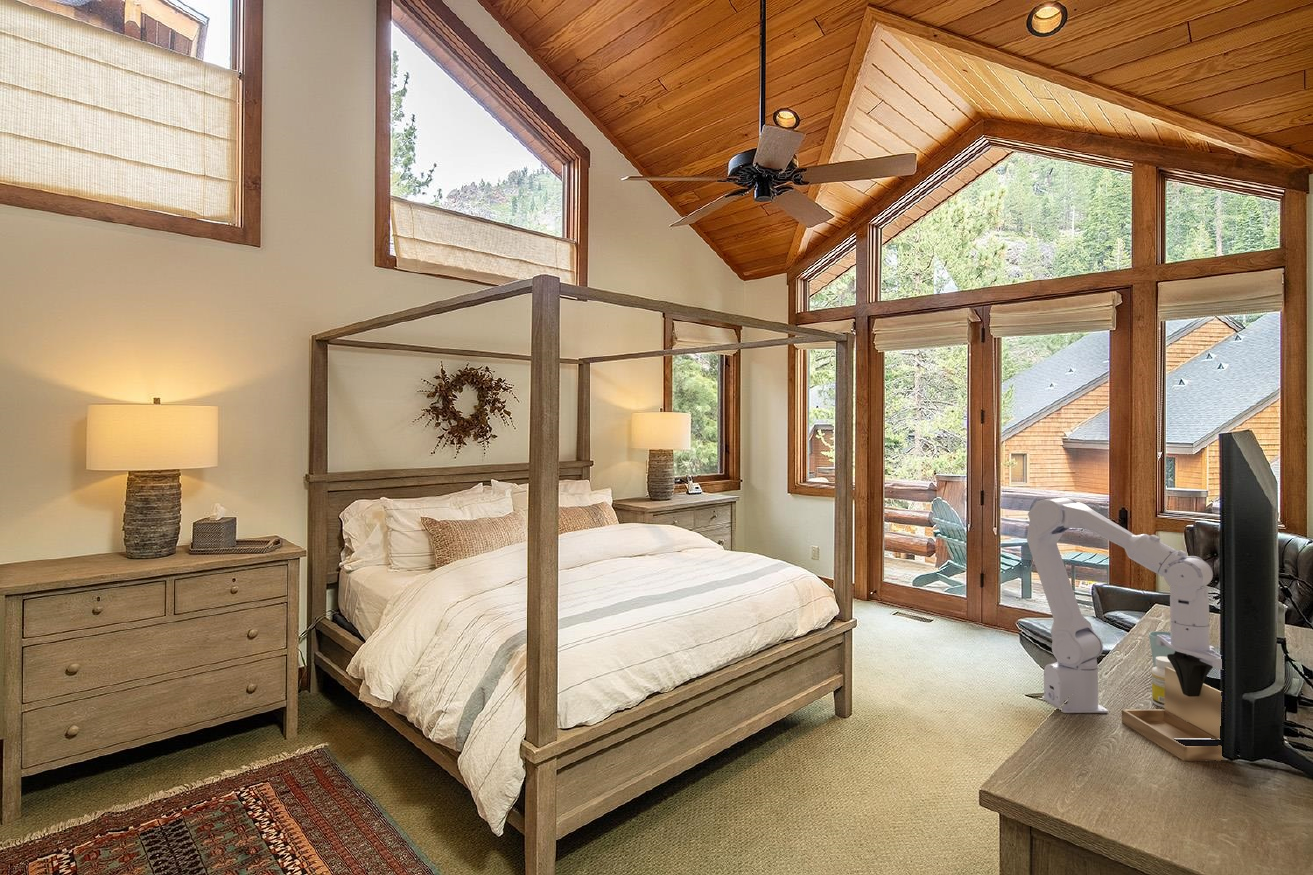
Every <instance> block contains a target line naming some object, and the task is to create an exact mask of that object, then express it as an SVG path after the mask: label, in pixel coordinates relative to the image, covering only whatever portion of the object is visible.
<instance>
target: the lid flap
mask: <svg viewBox="0 0 1313 875" xmlns="http://www.w3.org/2000/svg"><path fill="white" fill-rule="evenodd" d="M1221 692H1222V691H1221V690H1218V689H1217V688H1214V687H1211V686H1210V685H1208V684H1206V683H1203V685H1202V688H1201V692H1200V695H1199V696H1195V697H1189V696H1186V695H1184V694H1183V692H1182V689H1181V686H1180V682H1179V679H1178V677H1177V674H1176V672H1175V670H1173V669H1171V668H1169V667H1165V698H1164V708H1163V709H1165V710H1167V711H1168V712H1170V713H1172V714H1174V715H1176V716H1178V717H1179V718H1181V719H1183V720H1185V721H1187V722H1189V723H1190V724H1192V725H1194V726H1196V727H1198V728H1200V729H1201V730H1203V731H1205V732H1207V733H1209V734H1211V735H1212V736H1214V737H1216V738H1218V739H1220V726H1221V702H1222V696H1221ZM1220 740H1221V739H1220Z"/></svg>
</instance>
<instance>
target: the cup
mask: <svg viewBox="0 0 1313 875" xmlns="http://www.w3.org/2000/svg"><path fill="white" fill-rule="evenodd" d="M1156 635H1168V636H1171V631H1161V630H1160V631H1159V630H1156V631H1150V632H1149V633H1148V636H1149V643H1150V644H1149V645H1150V650H1151V658H1152V663H1153V668H1154V667H1157V665H1156V663H1155V658H1156V657H1158V656H1164V657H1167V655H1168V654H1174V653H1175V651H1174V650H1172V649H1170V648H1168V647H1165V646H1159V645H1157V642H1156Z"/></svg>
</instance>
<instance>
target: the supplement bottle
mask: <svg viewBox="0 0 1313 875" xmlns="http://www.w3.org/2000/svg"><path fill="white" fill-rule="evenodd" d="M1155 663H1156V665H1157V667H1154V666H1153V667H1152V668H1151V691H1152V692H1151V695H1152V696H1151V698H1152V703H1153V704H1154V705H1155V706H1158V707H1160V708H1163V709H1164V698H1165V667H1169V668H1171V669H1173V670H1175V669H1174V668H1173V666H1172V664H1171V662H1170V661H1169V660H1168V658H1167V657H1164V656H1158V657H1156V658H1155Z"/></svg>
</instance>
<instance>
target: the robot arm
mask: <svg viewBox="0 0 1313 875" xmlns="http://www.w3.org/2000/svg"><path fill="white" fill-rule="evenodd" d="M1027 516H1028V518H1029V523H1028V529H1027V535H1026V541H1027V545H1028V547H1029V548H1028V549H1029V551H1030V554H1031V556H1032V559H1033V564H1034V565H1035V569H1036V572H1037V574H1038V578H1039V580H1040V582H1041V586H1042V588H1043V592H1044V595H1045V598H1046V601H1047V604H1048V606H1049V607H1048V608H1049V610H1050V612H1051V616H1052V618H1053V622H1052V625H1051V628H1050V634H1051V640H1052V642H1051V652H1052V655H1053V656H1054V658H1055V659H1056V660H1057V661H1056V662H1053V663H1048V664H1046V665H1045V667H1044V669H1043V696H1041V699H1042V700H1044V701H1045V702H1047V703H1048V704H1049V705H1051V706H1053V707H1054V708H1056V709H1057V710H1058V708H1059V707H1060V706H1061V705H1062V704H1063V703H1064V702H1065V701H1066V700H1067V699H1068V701H1067V702H1066V703H1064V705H1063V706H1061V708H1062V710H1061V709H1060V710H1061V711H1060V710H1059V711H1060V712H1062V713H1064V714H1083V713H1084V714H1085V713H1086V714H1089V713H1090V714H1091V713H1092V714H1097V713H1099V714H1100V713H1103V714H1106V713H1107V714H1108V713H1109V710H1108V708H1105V707H1104V706H1103V705H1100V704H1099V671H1098V670H1099V668H1098V667H1099V666H1098V660H1097V658H1099V657H1100V655H1101V654H1102V653H1103V649H1104V645H1103V642H1102V639H1101V637H1100V636H1099V635H1098V634H1097V633H1096V632H1095V630H1094V629H1093V626H1092V623H1091V622H1090V621H1089V620H1088V619H1087V618H1086V617H1084V616H1083V615H1082V614H1083V613H1082V612H1081V609H1080V605H1079V604H1078V600H1077V598H1076V595H1075V592H1074V589H1073V587H1072V583H1071V580H1070V578H1069V575H1068V572H1067V569H1066V566H1065V564H1064V561H1063V557H1062V554H1061V553H1060V549H1059V546H1058V542H1059V540H1060V539H1061V538H1062V537H1063V535H1064V534H1065V532H1066V531H1067V530H1069V529H1070V528H1072V529H1074V528H1075V529H1086V530H1087V531H1090V532H1092V533H1094V534H1096V535H1098V536H1099V537H1101V538H1103V539H1106V540H1108V541H1109V542H1111V543H1113V544H1116V545H1118V546H1119V547H1120V548H1123V549H1124V551H1125V554H1126V556H1127V558H1129V559H1130V560H1132V561H1133V562H1135V563H1137V564H1138V565H1141V566H1143V567H1144V568H1145V569H1147V570H1149V571H1151V572H1153V573H1155V574H1156V575H1158V576H1160V577H1163V579H1164V581H1165V582H1166V584H1167V585H1168V587H1170V588H1169V593H1170V594H1169V611H1170V612H1169V614H1170V615H1169V617H1170V619H1169V621H1170V632H1171V636H1168V635H1156V642H1157V645H1159V646H1165V647H1168V648H1170V649H1172V650H1174V651H1175V653H1174V654H1168V655H1167V658H1168V660H1169V661H1170V662H1171V664H1172V666H1173V668H1174V669H1175V672H1176V674H1177V677H1178V679H1179V682H1180V686H1181V689H1182V692H1183V694H1184V695H1186V696H1189V697H1195V696H1199V695H1200V692H1201V688H1202V685H1203V683H1204V682H1205V681H1206V678H1207V676H1208V674H1210V672H1211V670H1212V669H1216V670H1223V669H1222V659H1221V656H1222V655H1221V654H1220V653H1218V652H1217V651H1215V650H1216V649H1215V648H1216V647H1214V646H1212V645H1210V643H1211V642H1210V600H1209V586H1207V585H1210V583H1211V581H1212V580H1213V577H1214V576H1213V575H1214V573H1213V569H1212V567H1211V565H1209V564H1208V562H1206V561H1205V560H1203V559H1202V557H1199V556H1195V555H1189V556H1188V555H1187V552H1186V551H1184V550H1182V549H1180V550H1177V549H1175V548H1174V547H1172V546H1169V545H1168V544H1165V543H1164V542H1162V541H1160V540H1161V537H1160V536H1157V535H1156V534H1151V535H1149V534H1147V533H1142V534H1134V533H1132V532H1131V531H1129V530H1127V529H1126V528H1125V527H1122V526H1121V525H1120V524H1118V523H1116V522H1114V521H1112V520H1111V519H1110V518H1107V517H1105V516H1104V515H1102V514H1101V513H1099V512H1097V511H1095V510H1094V509H1092V508H1091V507H1089V506H1088V505H1087V504H1085V503H1083V502H1078V501H1077V500H1076V499H1074V498H1072V497H1068V496H1063V497H1062V496H1061V497H1058V498H1057V497H1056V498H1052V499H1051V498H1050V499H1047V498H1046V499H1045V498H1044V499H1041V500H1038V501H1037V502H1035V504H1034V505H1033V506H1032V507H1031V509H1030V510H1029V511H1028V513H1027ZM1204 684H1205V683H1204ZM1072 694H1073V695H1072ZM1069 696H1070V697H1069ZM1068 697H1069V698H1068Z"/></svg>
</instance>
